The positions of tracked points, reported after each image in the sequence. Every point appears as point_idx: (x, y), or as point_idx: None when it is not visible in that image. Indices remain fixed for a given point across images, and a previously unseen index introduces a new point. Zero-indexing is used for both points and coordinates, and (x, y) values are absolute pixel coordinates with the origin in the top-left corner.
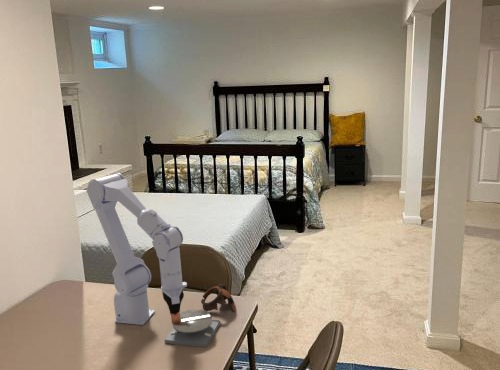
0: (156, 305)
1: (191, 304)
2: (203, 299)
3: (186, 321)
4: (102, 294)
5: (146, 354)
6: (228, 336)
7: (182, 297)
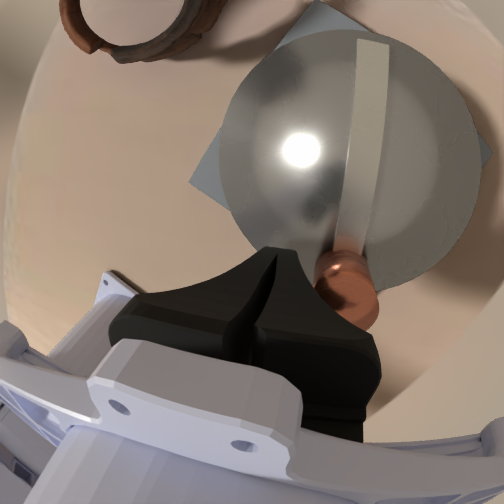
0: (71, 251)
1: (85, 116)
2: (116, 48)
3: (368, 213)
4: (38, 344)
5: (385, 356)
6: (444, 24)
7: (373, 348)
